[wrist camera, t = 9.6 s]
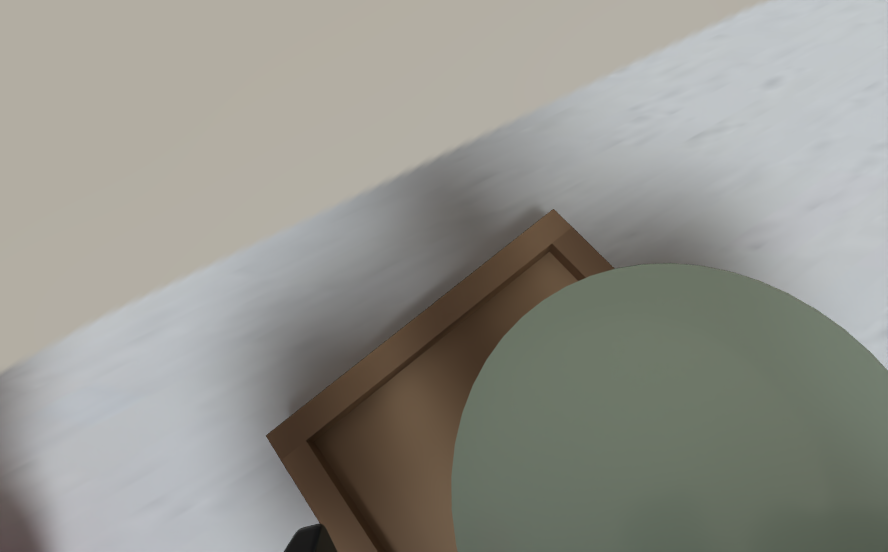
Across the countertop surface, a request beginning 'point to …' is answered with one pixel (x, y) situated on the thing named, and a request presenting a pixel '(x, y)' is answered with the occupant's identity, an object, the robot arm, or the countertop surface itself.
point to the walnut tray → (419, 401)
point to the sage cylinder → (674, 424)
